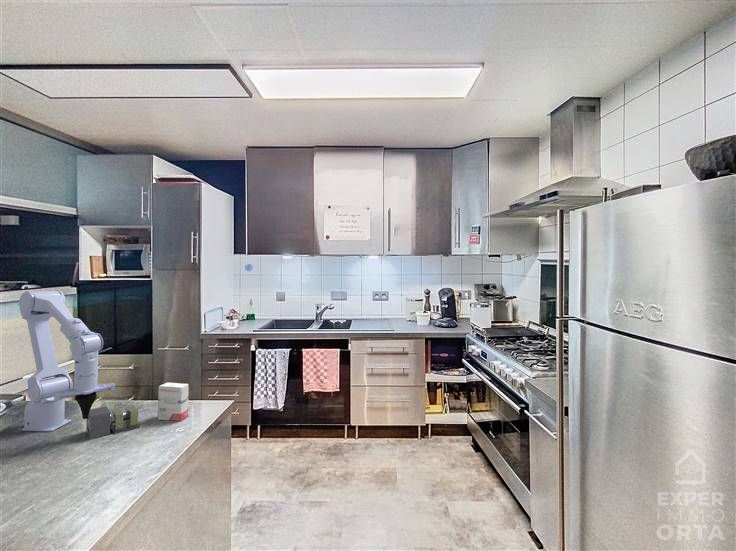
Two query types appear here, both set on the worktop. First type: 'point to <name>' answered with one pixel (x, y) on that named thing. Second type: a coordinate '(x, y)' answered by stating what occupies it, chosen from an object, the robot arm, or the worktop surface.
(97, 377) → the robot arm
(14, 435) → the worktop surface
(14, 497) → the worktop surface
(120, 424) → the shaft rig
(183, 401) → the ink box
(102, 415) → the grey housing block
